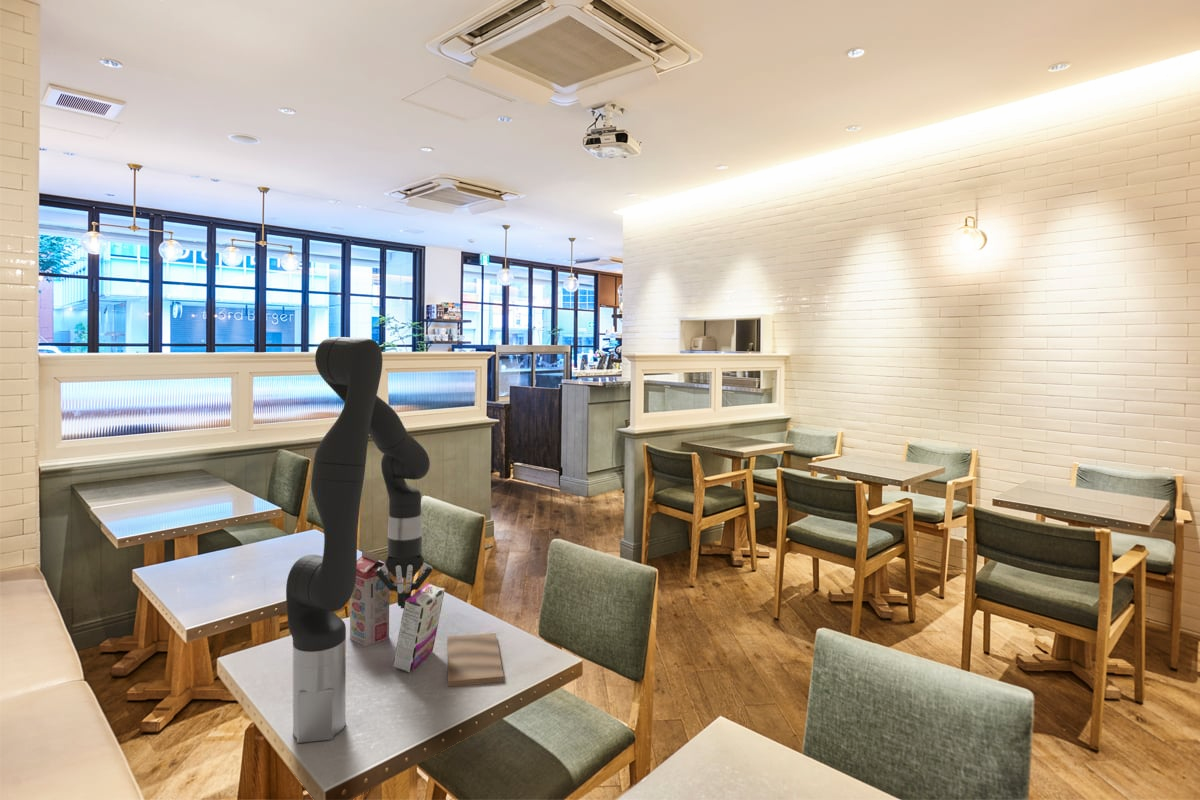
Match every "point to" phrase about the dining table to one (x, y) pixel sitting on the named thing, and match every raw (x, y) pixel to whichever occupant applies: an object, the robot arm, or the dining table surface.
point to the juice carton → (369, 603)
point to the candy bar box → (418, 627)
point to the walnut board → (473, 660)
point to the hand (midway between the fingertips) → (404, 607)
